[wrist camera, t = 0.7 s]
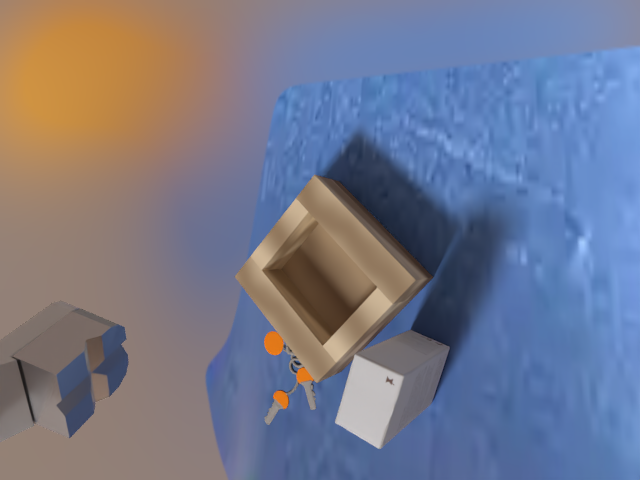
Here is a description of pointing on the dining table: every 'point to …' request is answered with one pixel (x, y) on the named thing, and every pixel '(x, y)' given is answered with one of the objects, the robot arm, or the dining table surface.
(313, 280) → the socket block
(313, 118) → the dining table surface
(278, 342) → the key chain
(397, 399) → the skincare box
